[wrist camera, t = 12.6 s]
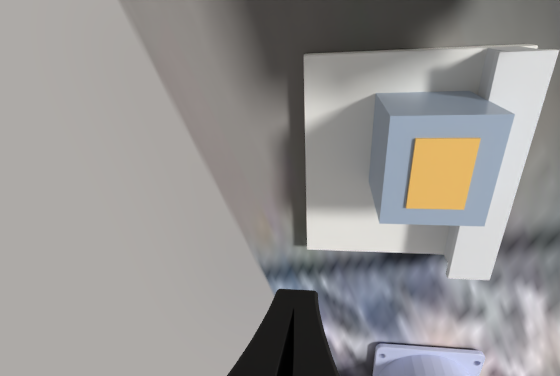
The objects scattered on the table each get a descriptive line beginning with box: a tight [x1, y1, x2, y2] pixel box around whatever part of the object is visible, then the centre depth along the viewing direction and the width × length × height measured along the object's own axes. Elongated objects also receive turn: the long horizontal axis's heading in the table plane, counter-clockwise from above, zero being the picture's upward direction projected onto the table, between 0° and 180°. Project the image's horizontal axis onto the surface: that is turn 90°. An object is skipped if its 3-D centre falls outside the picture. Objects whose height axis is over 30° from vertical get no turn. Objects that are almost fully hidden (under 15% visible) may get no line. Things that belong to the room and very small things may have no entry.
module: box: [369, 91, 515, 226], centre depth 16 cm, size 5×4×5 cm
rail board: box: [304, 44, 559, 280], centre depth 18 cm, size 12×11×3 cm
